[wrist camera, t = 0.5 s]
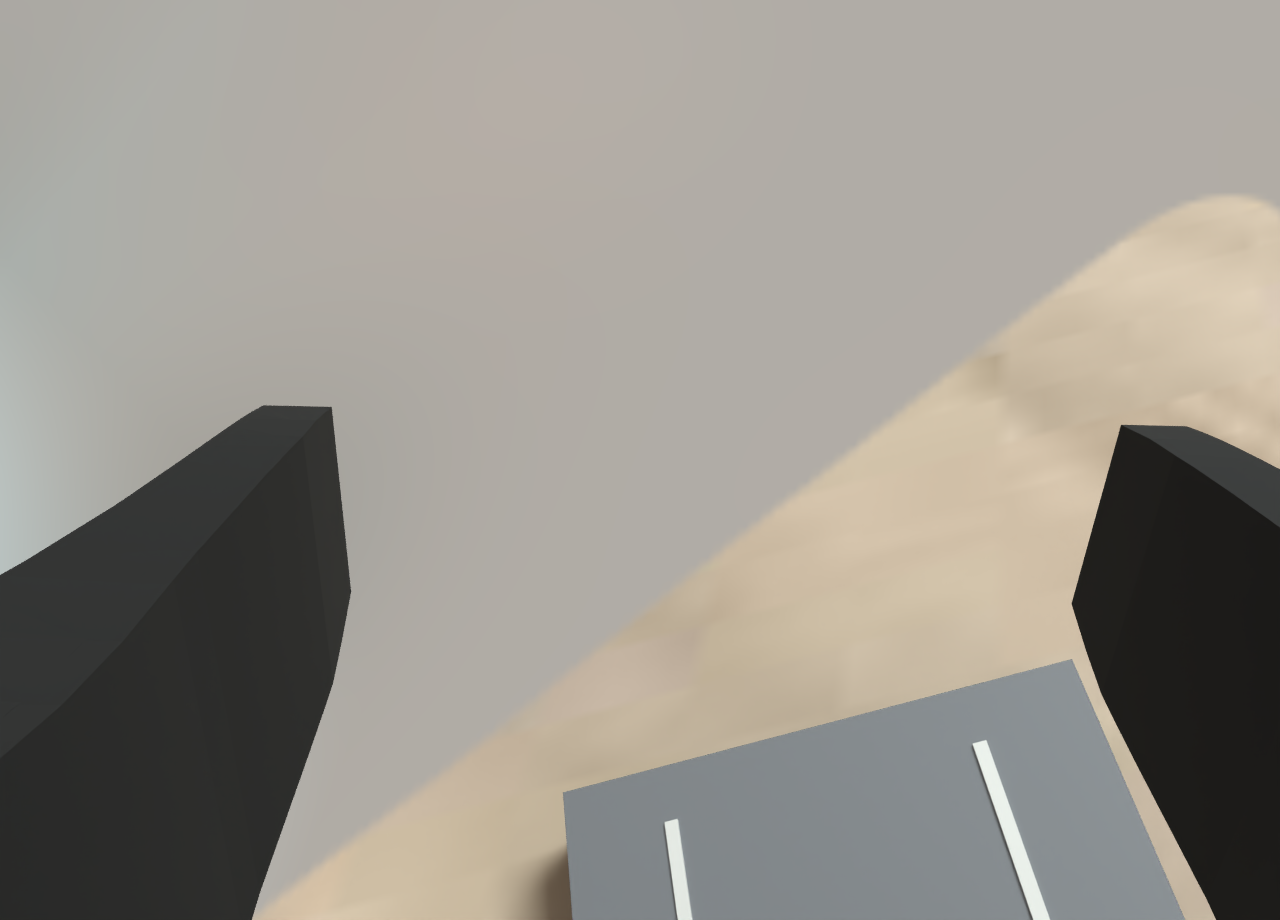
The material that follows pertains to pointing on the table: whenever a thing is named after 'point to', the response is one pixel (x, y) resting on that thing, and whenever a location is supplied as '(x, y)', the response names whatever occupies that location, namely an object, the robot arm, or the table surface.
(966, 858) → the board
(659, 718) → the table surface
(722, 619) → the table surface
